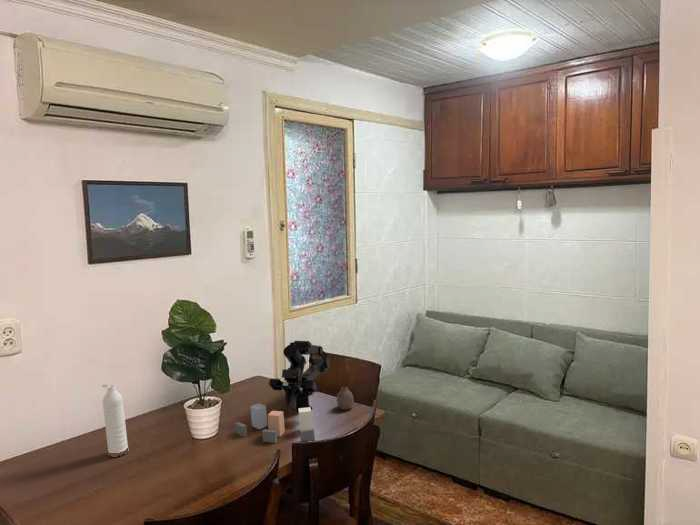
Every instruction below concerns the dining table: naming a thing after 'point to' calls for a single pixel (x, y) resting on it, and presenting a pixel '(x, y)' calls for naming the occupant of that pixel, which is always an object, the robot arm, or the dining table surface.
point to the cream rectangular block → (305, 418)
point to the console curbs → (274, 433)
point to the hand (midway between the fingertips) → (288, 405)
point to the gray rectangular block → (258, 416)
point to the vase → (345, 399)
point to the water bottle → (114, 420)
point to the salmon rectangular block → (276, 422)
